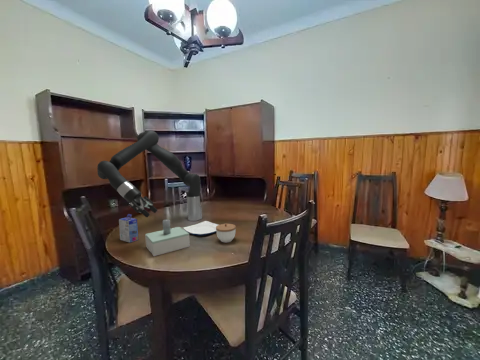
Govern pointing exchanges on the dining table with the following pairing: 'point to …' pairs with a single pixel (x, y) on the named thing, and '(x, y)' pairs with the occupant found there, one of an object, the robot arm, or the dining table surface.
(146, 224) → the dining table surface
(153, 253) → the open box
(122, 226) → the ink cartridge box
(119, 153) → the robot arm
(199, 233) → the plate
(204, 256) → the dining table surface
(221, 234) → the lidded jar
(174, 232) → the lid
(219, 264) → the dining table surface
